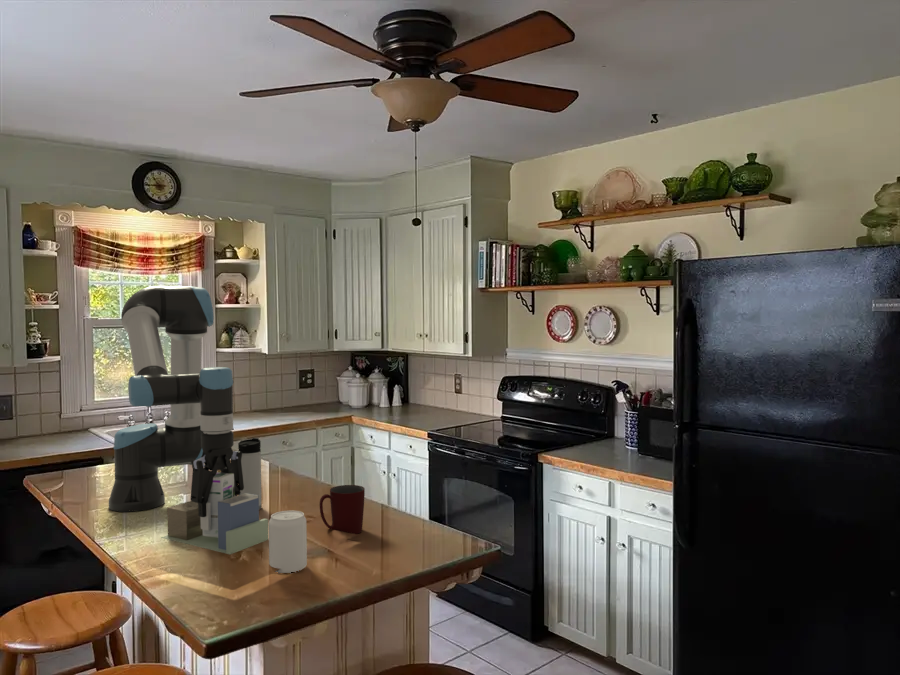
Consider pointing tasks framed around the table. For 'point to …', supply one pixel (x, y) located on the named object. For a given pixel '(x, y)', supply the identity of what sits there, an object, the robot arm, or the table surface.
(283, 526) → the beverage can
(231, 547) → the pale green slab
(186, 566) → the table surface
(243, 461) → the travel mug
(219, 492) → the syrup box
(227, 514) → the book block
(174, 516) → the bookend
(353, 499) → the mug
